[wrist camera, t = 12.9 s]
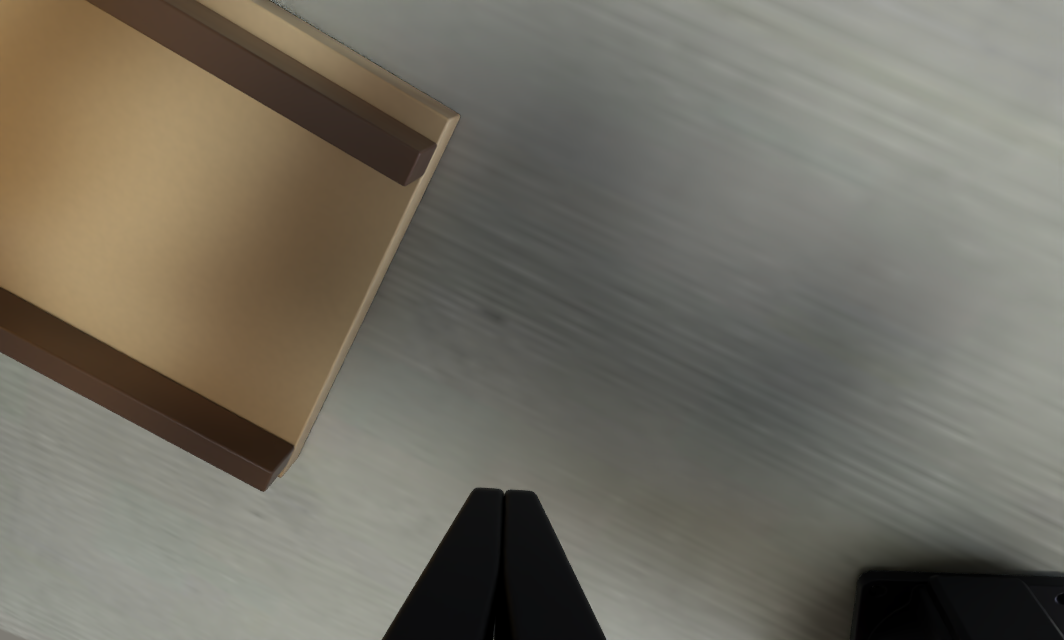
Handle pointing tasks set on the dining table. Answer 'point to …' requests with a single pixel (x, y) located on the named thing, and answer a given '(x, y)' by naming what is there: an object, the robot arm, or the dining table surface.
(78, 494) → the dining table surface
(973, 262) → the dining table surface
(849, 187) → the dining table surface
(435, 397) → the dining table surface
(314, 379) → the maple track
